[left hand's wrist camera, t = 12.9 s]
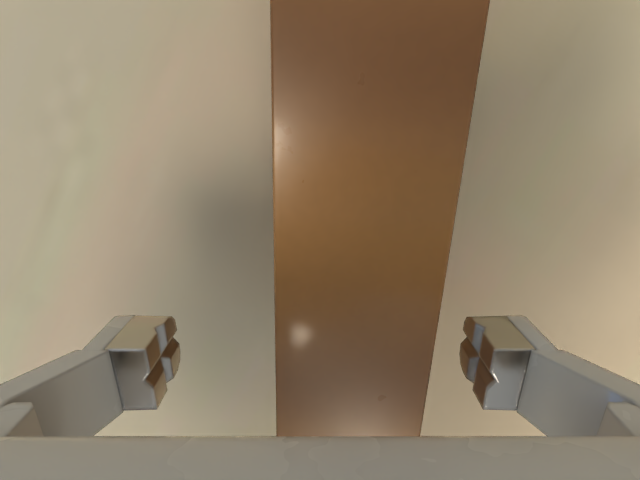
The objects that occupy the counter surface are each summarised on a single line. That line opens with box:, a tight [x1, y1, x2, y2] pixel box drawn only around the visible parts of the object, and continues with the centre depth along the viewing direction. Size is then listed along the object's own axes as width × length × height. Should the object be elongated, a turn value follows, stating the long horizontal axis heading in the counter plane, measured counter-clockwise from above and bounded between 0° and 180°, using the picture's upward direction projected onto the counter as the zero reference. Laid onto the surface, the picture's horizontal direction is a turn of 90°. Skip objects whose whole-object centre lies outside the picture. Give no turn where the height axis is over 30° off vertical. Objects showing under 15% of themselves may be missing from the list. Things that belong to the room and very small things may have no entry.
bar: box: [270, 0, 490, 436], centre depth 12 cm, size 24×5×8 cm, turn 178°
